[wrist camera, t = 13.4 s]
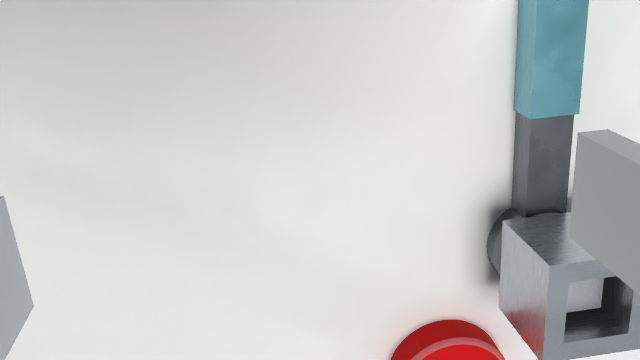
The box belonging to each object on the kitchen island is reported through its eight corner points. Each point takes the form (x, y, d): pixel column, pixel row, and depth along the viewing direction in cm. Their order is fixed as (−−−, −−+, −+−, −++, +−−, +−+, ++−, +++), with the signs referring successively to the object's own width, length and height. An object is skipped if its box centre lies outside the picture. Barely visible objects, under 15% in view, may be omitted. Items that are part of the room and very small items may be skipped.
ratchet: (495, -1, 42) (552, 9, 35) (590, -9, 43) (667, -1, 35) (485, 284, 50) (530, 341, 43) (566, 273, 51) (624, 328, 43)
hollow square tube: (498, 307, 47) (542, 363, 41) (502, 220, 45) (549, 266, 38) (588, 294, 48) (644, 347, 42) (597, 208, 46) (659, 251, 39)
